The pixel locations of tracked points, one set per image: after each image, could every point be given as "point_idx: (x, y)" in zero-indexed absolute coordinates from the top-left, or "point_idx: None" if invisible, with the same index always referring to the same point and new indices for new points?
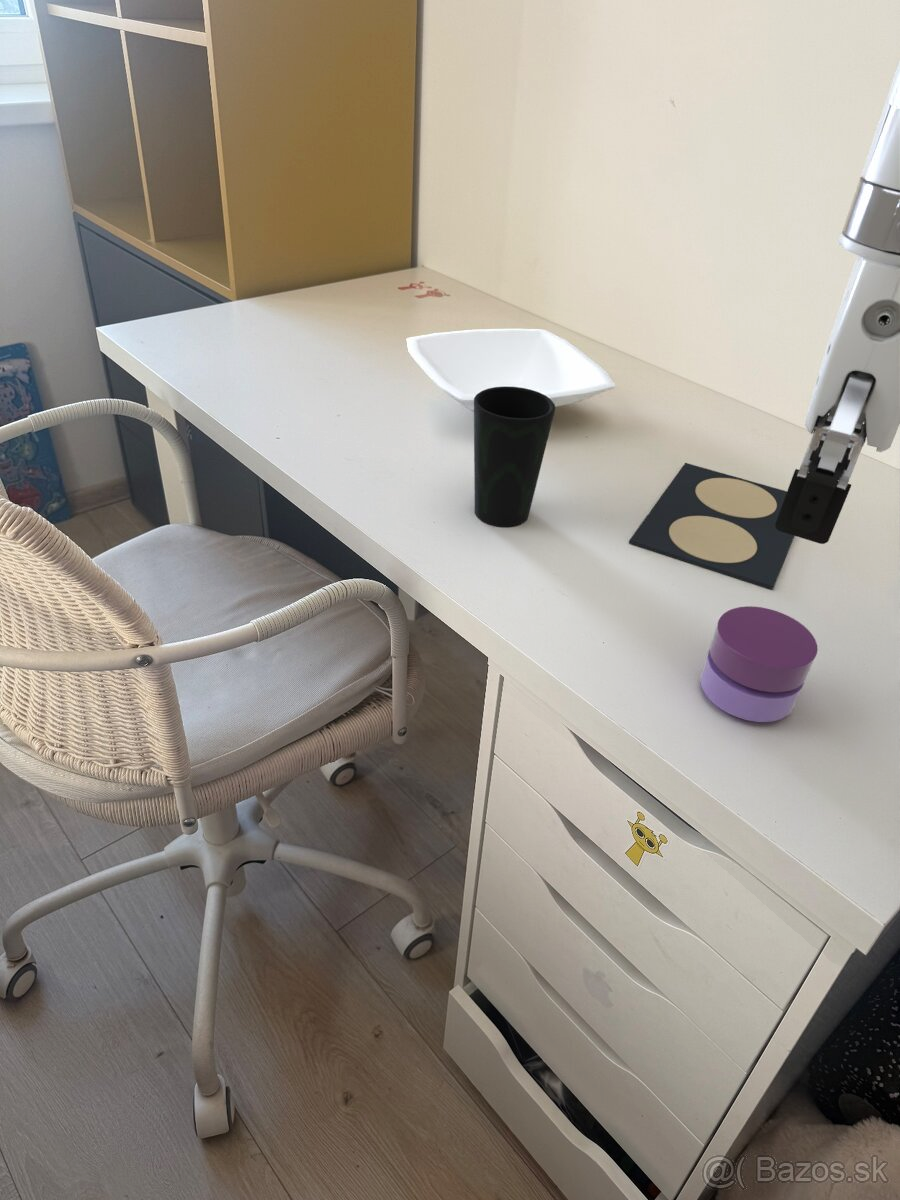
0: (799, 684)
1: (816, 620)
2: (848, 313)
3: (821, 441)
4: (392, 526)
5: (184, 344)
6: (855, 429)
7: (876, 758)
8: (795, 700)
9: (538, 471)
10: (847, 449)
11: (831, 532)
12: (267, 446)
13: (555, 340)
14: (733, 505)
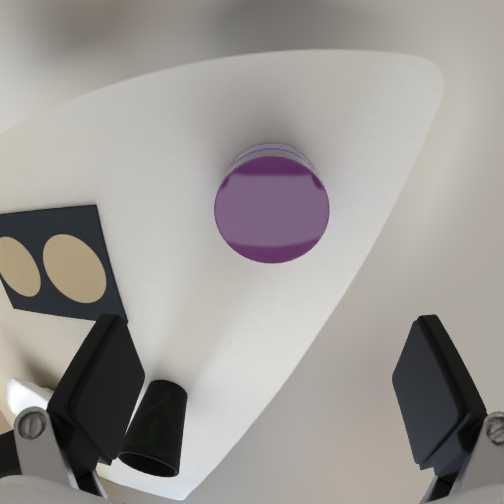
0: (295, 155)
1: (111, 155)
2: None
3: (123, 416)
4: (232, 424)
5: (163, 489)
6: (84, 422)
7: (290, 62)
8: (285, 147)
9: (150, 412)
10: (105, 382)
11: (444, 329)
12: (209, 465)
13: (13, 406)
14: (25, 266)
